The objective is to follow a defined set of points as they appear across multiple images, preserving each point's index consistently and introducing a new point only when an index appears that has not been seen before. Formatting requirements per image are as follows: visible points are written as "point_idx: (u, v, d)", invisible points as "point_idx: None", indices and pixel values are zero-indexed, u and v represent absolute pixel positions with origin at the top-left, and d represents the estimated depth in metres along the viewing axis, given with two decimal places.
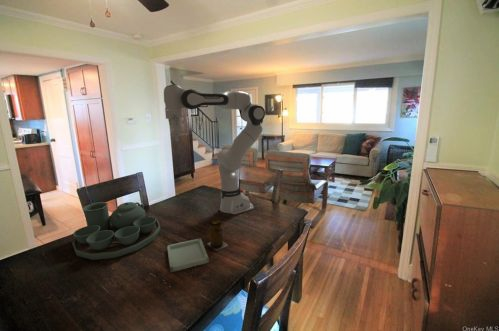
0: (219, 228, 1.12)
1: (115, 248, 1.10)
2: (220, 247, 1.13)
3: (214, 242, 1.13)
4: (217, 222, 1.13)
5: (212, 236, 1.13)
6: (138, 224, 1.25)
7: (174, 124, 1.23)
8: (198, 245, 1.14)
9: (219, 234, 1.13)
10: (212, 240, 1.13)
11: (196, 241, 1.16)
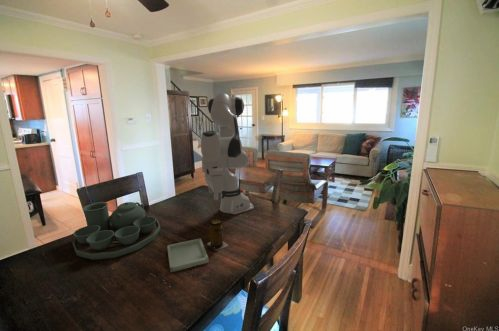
0: (219, 228, 1.12)
1: (115, 248, 1.11)
2: (220, 247, 1.13)
3: (214, 242, 1.13)
4: (217, 222, 1.13)
5: (212, 236, 1.13)
6: (138, 224, 1.25)
7: None
8: (198, 245, 1.14)
9: (219, 234, 1.13)
10: (212, 240, 1.13)
11: (196, 241, 1.16)
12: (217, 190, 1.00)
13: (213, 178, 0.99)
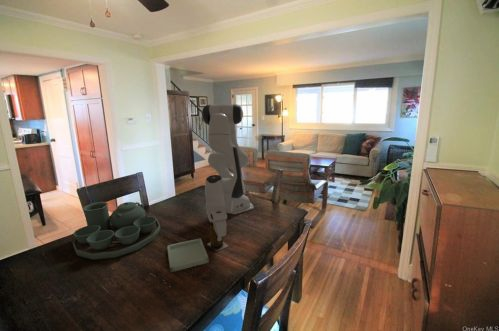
0: None
1: (115, 248, 1.11)
2: (220, 248, 1.13)
3: (214, 242, 1.13)
4: None
5: (212, 236, 1.12)
6: (138, 224, 1.25)
7: None
8: (198, 245, 1.14)
9: None
10: (212, 240, 1.13)
11: (196, 241, 1.16)
12: (221, 235, 1.04)
13: (217, 224, 1.03)
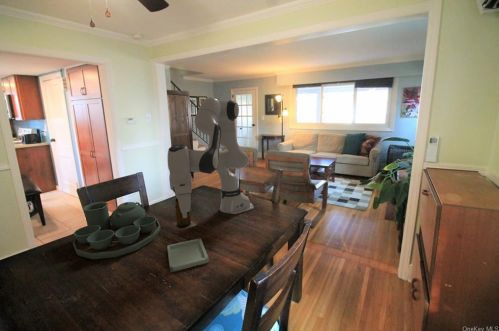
0: None
1: (115, 247, 1.11)
2: (187, 227, 1.00)
3: (180, 221, 1.00)
4: None
5: (177, 214, 1.00)
6: (138, 224, 1.25)
7: None
8: (198, 245, 1.14)
9: None
10: (178, 219, 1.01)
11: (196, 241, 1.16)
12: (184, 210, 0.92)
13: (179, 197, 0.91)
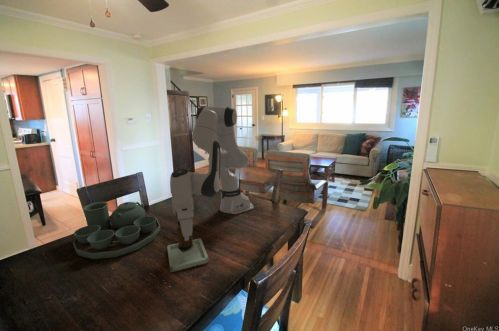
0: None
1: (116, 247, 1.11)
2: (188, 249, 1.03)
3: (182, 243, 1.03)
4: None
5: (180, 236, 1.02)
6: (138, 224, 1.25)
7: None
8: (198, 245, 1.14)
9: None
10: (180, 241, 1.03)
11: (196, 241, 1.16)
12: (186, 234, 0.94)
13: (182, 222, 0.94)
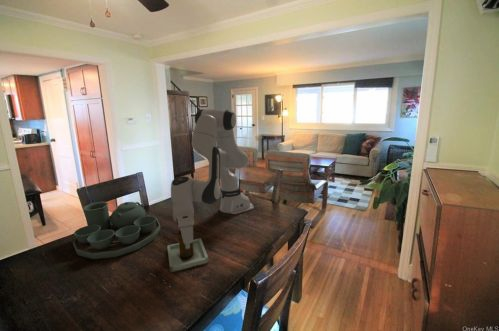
0: None
1: (116, 247, 1.11)
2: (189, 258, 1.04)
3: (183, 253, 1.04)
4: None
5: (181, 246, 1.03)
6: (138, 224, 1.25)
7: None
8: (198, 245, 1.14)
9: None
10: (181, 251, 1.04)
11: (196, 241, 1.16)
12: (187, 242, 0.95)
13: (182, 230, 0.95)
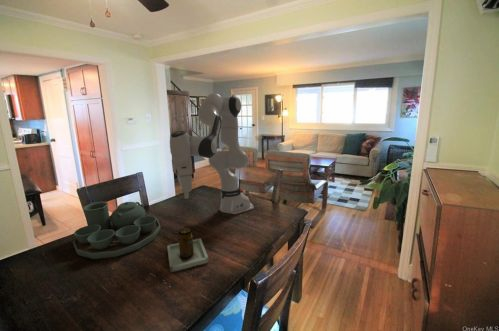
0: (188, 238, 1.03)
1: (116, 247, 1.11)
2: (189, 258, 1.04)
3: (183, 253, 1.04)
4: (186, 231, 1.04)
5: (181, 246, 1.04)
6: (138, 224, 1.26)
7: None
8: (198, 245, 1.14)
9: (188, 244, 1.03)
10: (181, 251, 1.04)
11: (196, 241, 1.16)
12: (186, 190, 1.02)
13: (181, 178, 1.01)
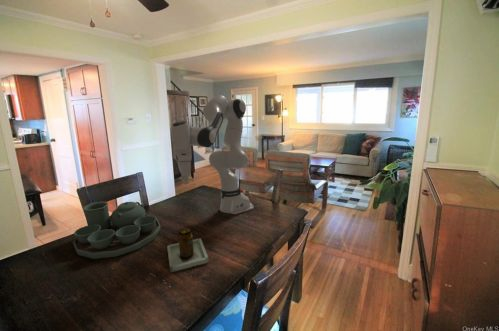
0: (188, 238, 1.03)
1: (116, 247, 1.11)
2: (189, 258, 1.04)
3: (183, 253, 1.04)
4: (186, 231, 1.04)
5: (181, 246, 1.03)
6: (138, 223, 1.26)
7: None
8: (198, 245, 1.14)
9: (188, 244, 1.03)
10: (181, 251, 1.04)
11: (196, 241, 1.16)
12: (185, 174, 1.10)
13: (181, 164, 1.10)
